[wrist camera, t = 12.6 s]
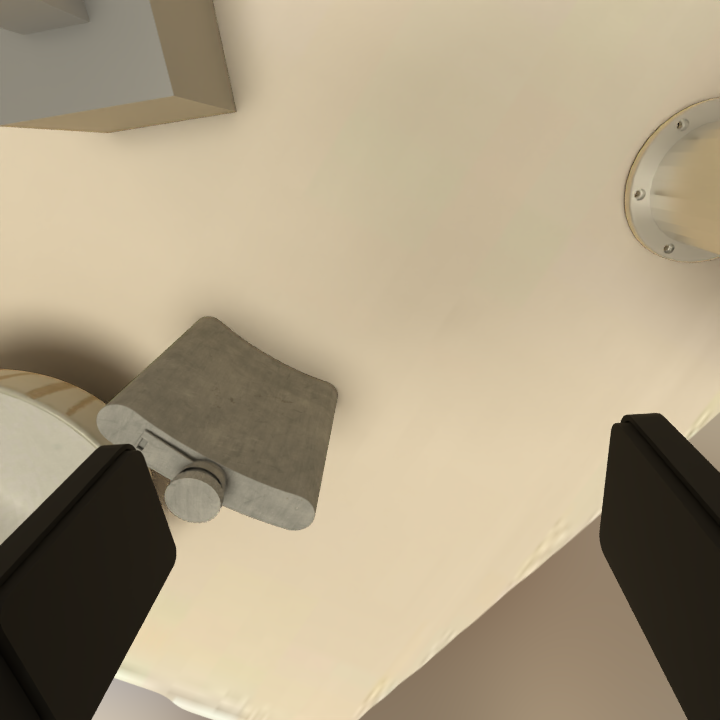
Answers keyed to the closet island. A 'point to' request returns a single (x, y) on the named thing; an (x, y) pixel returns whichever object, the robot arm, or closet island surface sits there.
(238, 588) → the closet island surface
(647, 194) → the robot arm
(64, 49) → the grey stepped block
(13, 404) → the decorative bowl
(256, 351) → the hip flask
